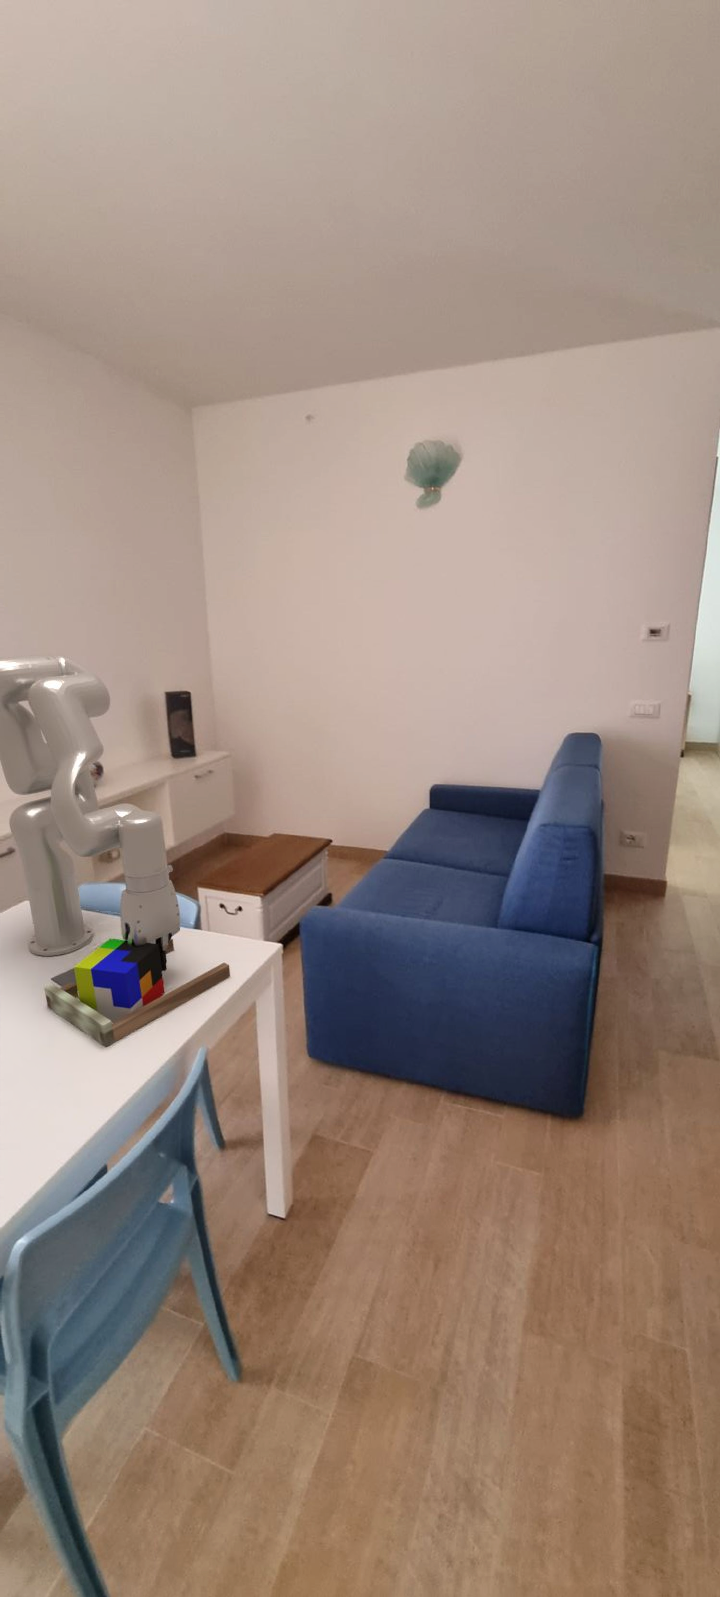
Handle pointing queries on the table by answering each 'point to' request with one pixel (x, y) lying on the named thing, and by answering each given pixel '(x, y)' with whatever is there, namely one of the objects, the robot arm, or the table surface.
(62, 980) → the grey flat block
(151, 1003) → the trap box
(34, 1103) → the table surface
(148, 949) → the puzzle toy
